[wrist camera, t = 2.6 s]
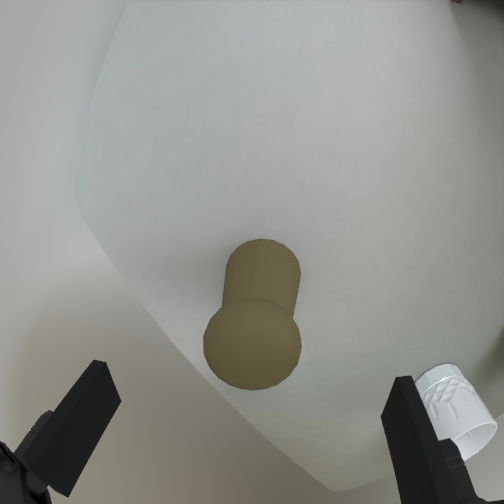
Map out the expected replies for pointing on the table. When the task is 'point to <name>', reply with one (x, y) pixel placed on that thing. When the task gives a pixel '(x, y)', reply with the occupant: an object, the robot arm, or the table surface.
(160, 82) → the table surface
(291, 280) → the olive pawn
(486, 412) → the white cup
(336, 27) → the table surface
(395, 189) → the table surface
